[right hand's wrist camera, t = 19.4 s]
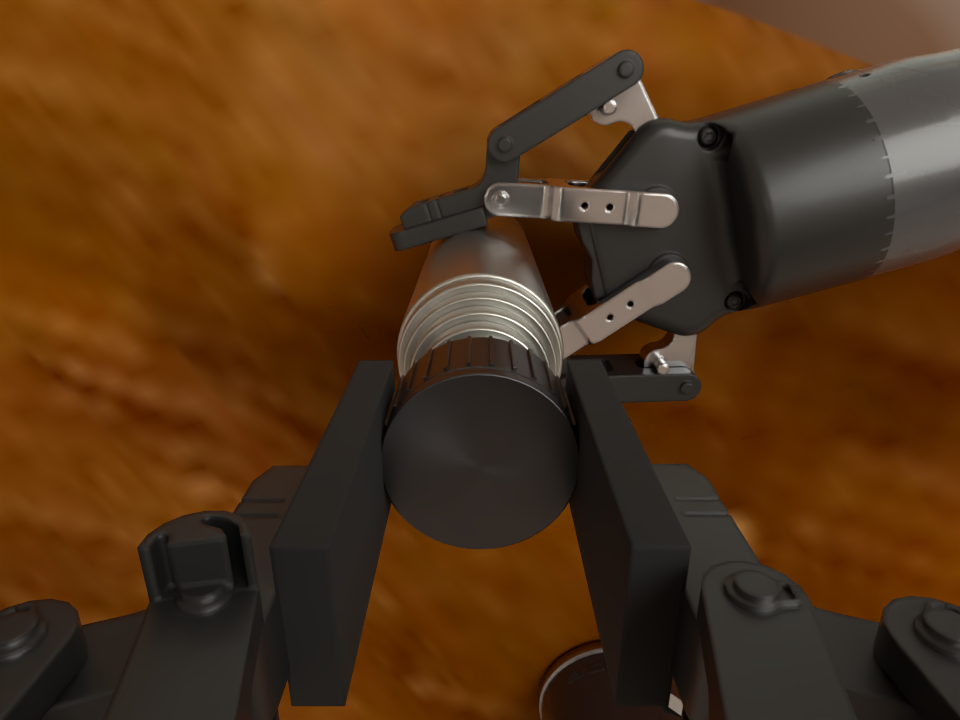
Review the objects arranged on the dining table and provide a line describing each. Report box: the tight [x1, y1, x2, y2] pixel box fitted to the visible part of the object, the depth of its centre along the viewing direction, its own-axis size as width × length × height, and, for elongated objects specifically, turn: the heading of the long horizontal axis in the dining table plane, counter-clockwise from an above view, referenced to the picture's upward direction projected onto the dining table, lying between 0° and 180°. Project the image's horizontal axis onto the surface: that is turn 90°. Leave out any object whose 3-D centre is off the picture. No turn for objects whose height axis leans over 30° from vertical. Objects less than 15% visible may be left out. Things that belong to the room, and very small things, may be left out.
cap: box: [381, 336, 579, 549], centre depth 13 cm, size 4×4×2 cm
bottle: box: [397, 216, 564, 379], centre depth 22 cm, size 5×5×20 cm
